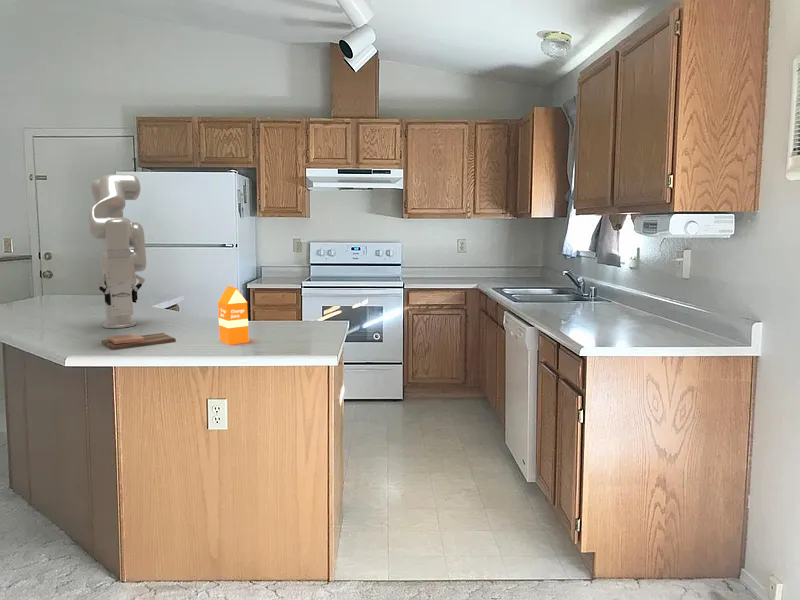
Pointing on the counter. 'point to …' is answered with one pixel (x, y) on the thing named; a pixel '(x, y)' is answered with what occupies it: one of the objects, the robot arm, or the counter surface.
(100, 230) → the robot arm
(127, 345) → the board
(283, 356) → the counter surface
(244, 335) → the orange juice
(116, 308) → the supplement box
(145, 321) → the counter surface
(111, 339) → the tile
